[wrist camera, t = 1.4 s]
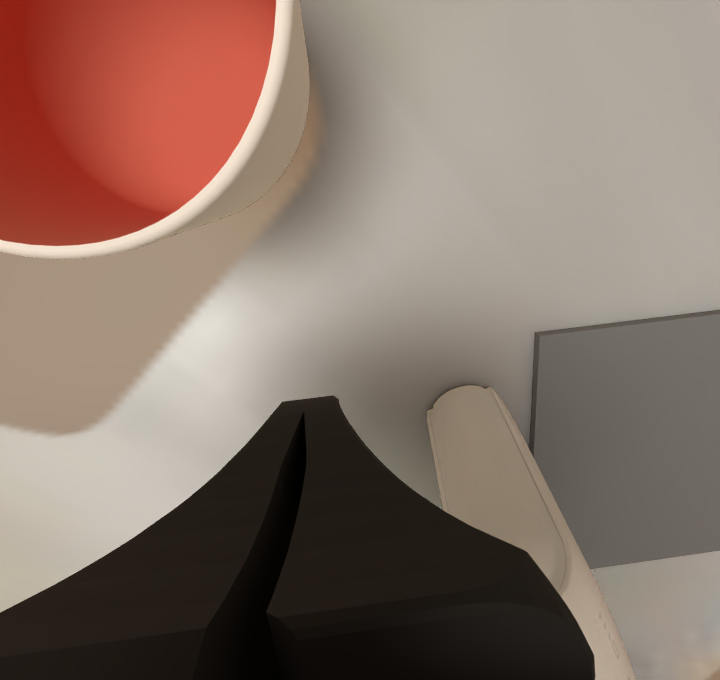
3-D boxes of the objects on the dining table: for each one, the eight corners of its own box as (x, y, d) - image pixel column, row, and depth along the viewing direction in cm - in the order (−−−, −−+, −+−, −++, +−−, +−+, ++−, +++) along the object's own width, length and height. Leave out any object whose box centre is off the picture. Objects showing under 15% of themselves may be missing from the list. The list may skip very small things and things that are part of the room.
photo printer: (553, 515, 25) (702, 824, 13) (481, 536, 25) (562, 842, 14) (494, 369, 21) (626, 613, 10) (413, 399, 22) (448, 656, 11)
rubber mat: (730, 541, 27) (737, 547, 27) (523, 571, 27) (527, 578, 26) (795, 300, 22) (805, 303, 21) (535, 332, 21) (539, 336, 21)
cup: (332, 197, 18) (340, 213, 9) (101, 239, 18) (-137, 300, 9) (278, -104, 15) (196, -598, 5) (-10, -54, 15) (-604, -471, 5)
